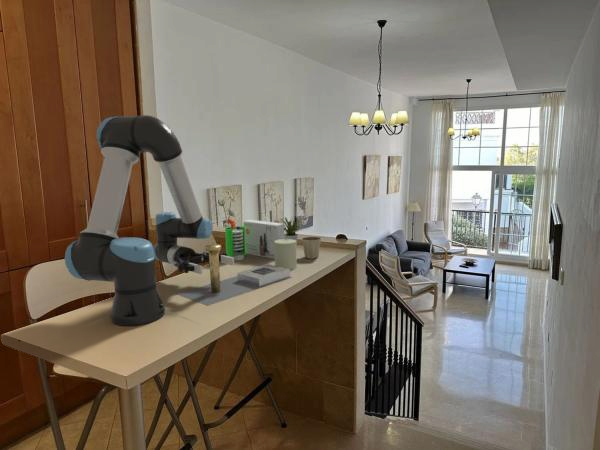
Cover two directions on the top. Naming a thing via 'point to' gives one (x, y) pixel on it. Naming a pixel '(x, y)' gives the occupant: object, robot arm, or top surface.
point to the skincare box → (262, 237)
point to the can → (285, 253)
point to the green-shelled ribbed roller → (235, 240)
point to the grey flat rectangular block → (263, 275)
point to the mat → (228, 290)
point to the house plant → (291, 229)
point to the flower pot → (311, 246)
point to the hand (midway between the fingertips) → (217, 265)
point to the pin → (214, 267)
